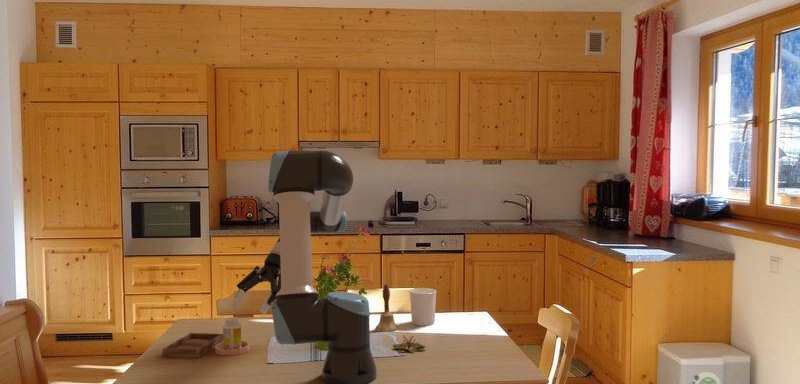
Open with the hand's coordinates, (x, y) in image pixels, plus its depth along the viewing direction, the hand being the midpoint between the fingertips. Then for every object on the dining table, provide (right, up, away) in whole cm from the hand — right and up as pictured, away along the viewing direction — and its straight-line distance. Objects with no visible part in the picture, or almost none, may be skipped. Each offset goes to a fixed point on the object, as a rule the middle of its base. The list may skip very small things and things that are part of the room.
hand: (247, 310), depth 205 cm
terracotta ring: (-3, -12, -6) cm, 13 cm away
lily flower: (+53, -12, -6) cm, 55 cm away
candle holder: (+59, -10, +24) cm, 64 cm away
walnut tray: (-16, -12, -4) cm, 20 cm away
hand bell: (+46, -10, +17) cm, 50 cm away
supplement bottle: (-3, -12, -6) cm, 14 cm away
